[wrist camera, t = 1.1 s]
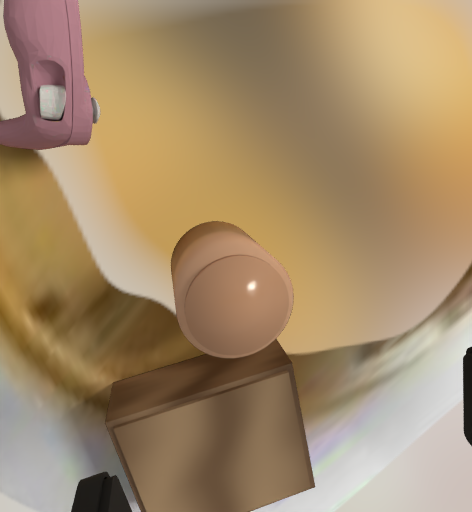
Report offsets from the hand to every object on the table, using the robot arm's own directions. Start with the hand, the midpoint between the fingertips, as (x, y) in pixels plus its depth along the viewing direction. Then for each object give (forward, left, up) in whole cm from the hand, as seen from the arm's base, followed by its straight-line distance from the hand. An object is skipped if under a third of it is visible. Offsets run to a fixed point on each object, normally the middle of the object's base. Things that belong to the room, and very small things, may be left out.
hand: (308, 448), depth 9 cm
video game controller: (+6, -14, -16) cm, 22 cm away
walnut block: (+3, +12, -16) cm, 20 cm away
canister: (0, 0, -16) cm, 16 cm away
